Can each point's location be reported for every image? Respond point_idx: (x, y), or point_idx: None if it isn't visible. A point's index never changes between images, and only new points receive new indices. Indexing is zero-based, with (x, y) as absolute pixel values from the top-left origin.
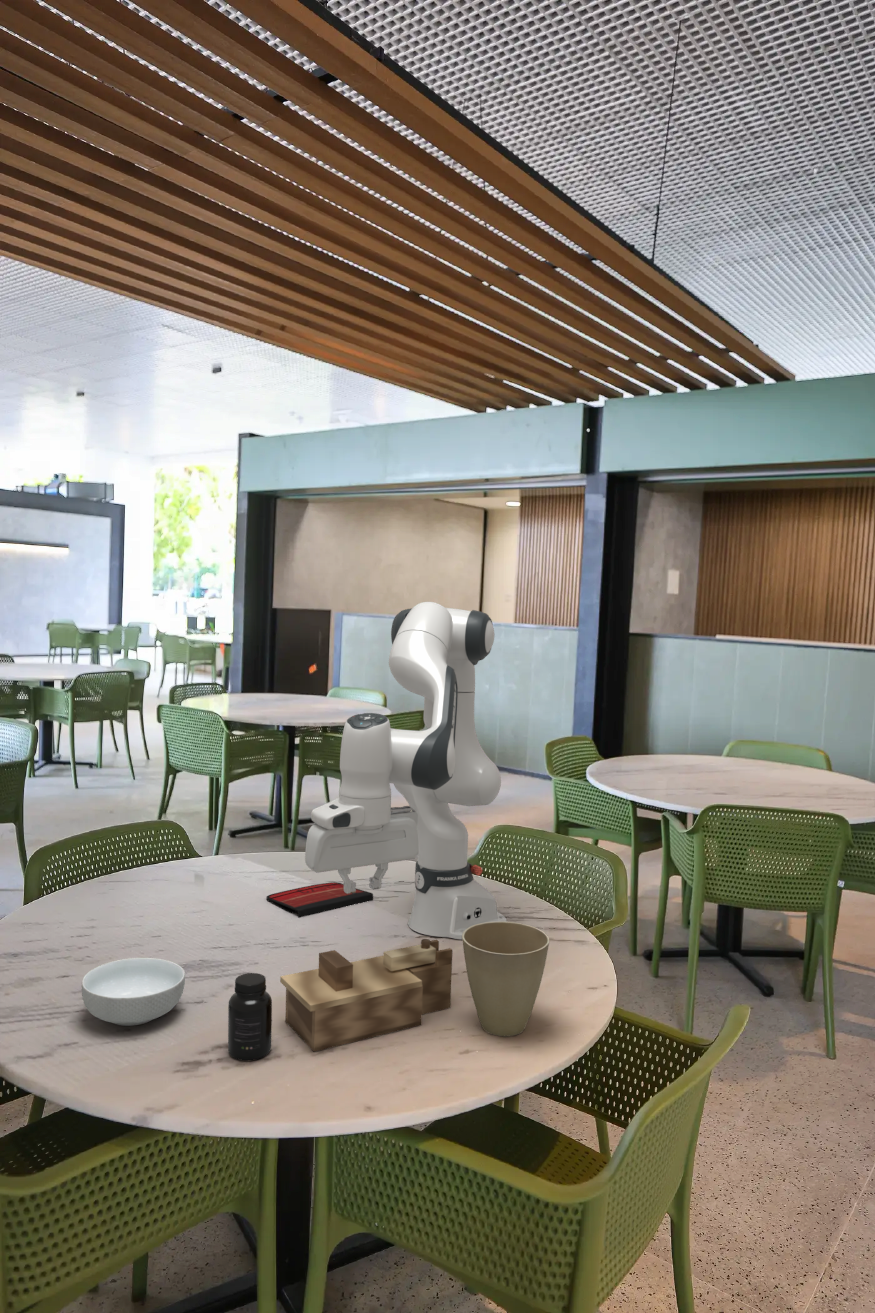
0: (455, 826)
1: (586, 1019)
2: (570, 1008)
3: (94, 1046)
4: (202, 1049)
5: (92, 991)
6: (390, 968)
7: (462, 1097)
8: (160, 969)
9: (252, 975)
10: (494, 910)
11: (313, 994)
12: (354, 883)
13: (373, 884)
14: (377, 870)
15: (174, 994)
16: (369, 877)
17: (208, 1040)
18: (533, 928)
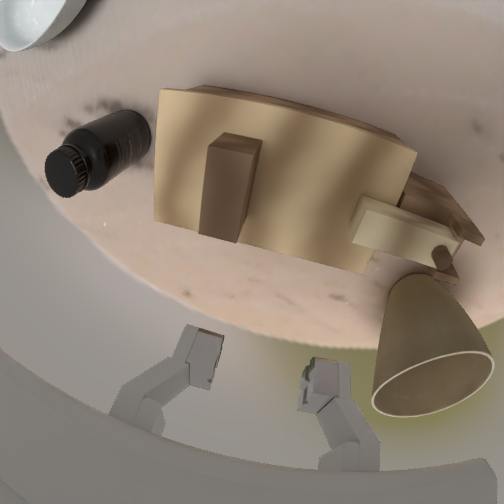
0: None
1: None
2: (479, 309)
3: (25, 50)
4: (89, 101)
5: None
6: (350, 226)
7: (265, 331)
8: None
9: (63, 166)
10: None
11: (174, 193)
12: (202, 387)
13: (307, 387)
14: (346, 428)
15: (56, 28)
16: (312, 393)
17: (100, 83)
18: (479, 386)
